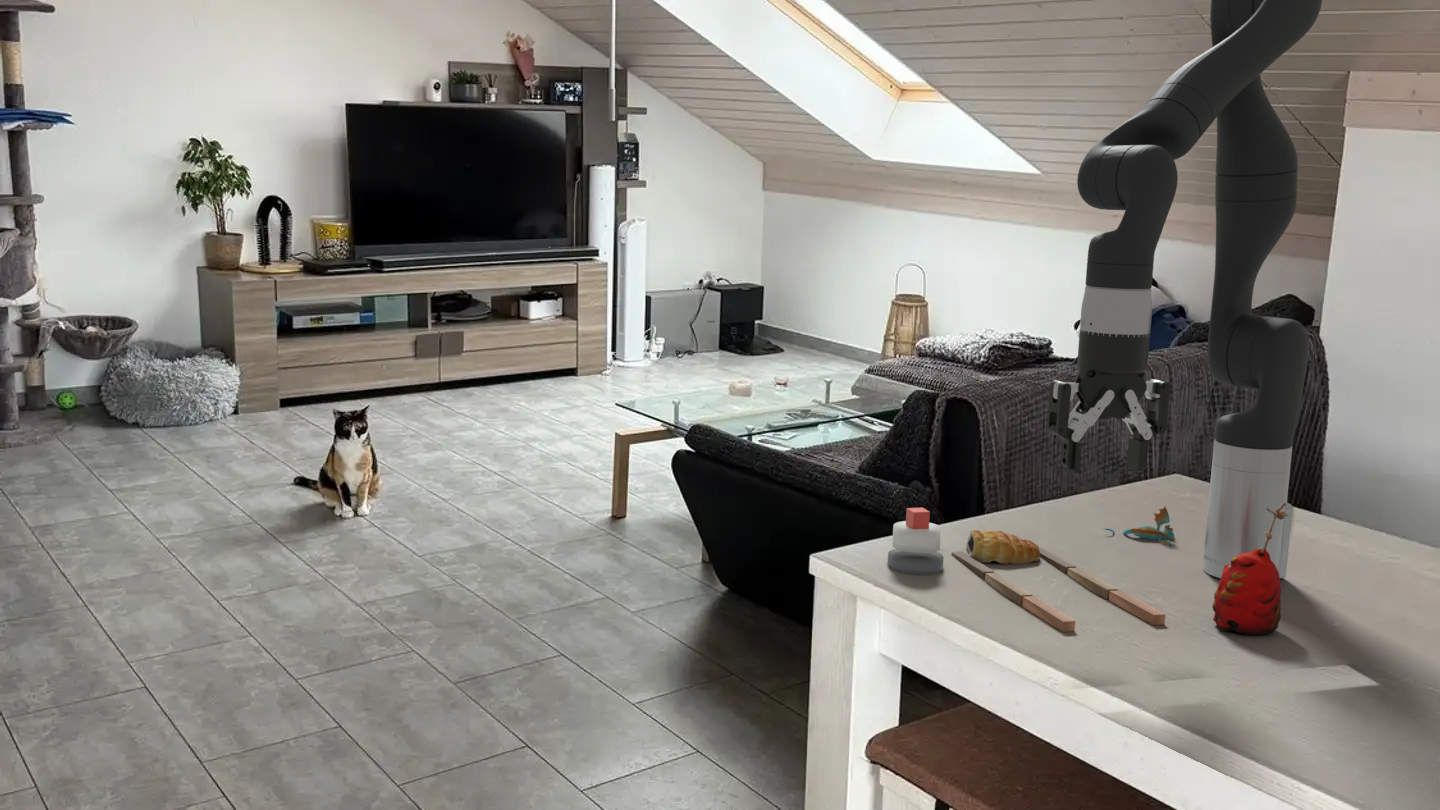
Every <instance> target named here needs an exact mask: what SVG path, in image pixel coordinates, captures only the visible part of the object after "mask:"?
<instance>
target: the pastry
mask: <svg viewBox="0 0 1440 810" xmlns="http://www.w3.org/2000/svg"><path fill="white" fill-rule="evenodd" d="M969 533H970V534H969V536H968V538H967V541H966V549H967V550H968V553H969V554H968V556H970V557H972V558H973V559H975V560H977V561H978V562H980V563H991V562H994V561H995V562H997V563H998V564H1005V565H1007V564H1013V565H1015V564H1016V565H1017V564H1018V565H1019V564H1030V563H1032V562H1038V560H1040V558H1041V557H1040V551H1039V545H1038V544H1036V543H1035V542H1034V541H1032V540H1030V539H1022V538H1020V537H1019V536H1018V535H1014V534H1010V533H1005V532H1004V531H1001V530H995V531H991V530H982V531H980V530H978V529H972V530H970V532H969Z"/></svg>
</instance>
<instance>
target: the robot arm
mask: <svg viewBox="0 0 1440 810" xmlns="http://www.w3.org/2000/svg"><path fill="white" fill-rule="evenodd" d="M1322 4H1323V0H1210V17H1209V18H1210V35H1211V48H1209V49H1208V50H1206V51H1205V52H1203V53H1201V54H1199V55H1198V56H1196V57H1195V58H1194V57H1193V59H1191V60H1190V61H1188V62H1187V63H1185V64H1184V65H1182V66H1181V67H1180V68H1177V70H1176V71H1175V72H1173V73H1172V74H1171V75H1170V76H1169V77H1168V78H1167V79H1166V80H1165V81H1164V82H1163V83H1162V84H1161V86H1159V88H1158V89H1157V91H1155V93H1154V94H1153V95H1152V96H1151V98H1149V100H1148V101H1147V102H1146V103H1145V105H1144V106H1143V107H1142V109H1141V110H1140V111H1139V112H1138V113H1136V115H1134V116H1132V117H1131V118H1129V119H1127V120H1126V121H1125V122H1123V123H1122V124H1120V125H1119V126H1117V127H1116V128H1114V129H1113V130H1112V131H1111V132H1109V133H1108V134H1107V135H1105V136H1104V137H1102V139H1100V140H1098V142H1096V143H1095V144H1094V145H1093V146H1092V148H1090V149H1089V151H1087V153H1086V155H1085V156H1084V158H1083V160H1082V162H1081V164H1080V166H1079V169H1078V171H1077V172H1078V174H1077V181H1076V182H1077V190H1078V193H1079V195H1080V198H1081V199H1082V200H1083V201H1084V202H1085V203H1086V204H1087V205H1088V206H1090V207H1092V208H1093V209H1094V208H1095V209H1097V210H1105V211H1108V210H1109V211H1124V213H1123V215H1122V218H1121V221H1120V223H1119V224H1118V226H1117V228H1116V229H1115V230H1111V231H1107V232H1101V233H1098V234H1096V235H1095V236H1093V237H1092V238H1091V239H1090V240H1089V241H1090V242H1089V244H1088V248H1087V249H1088V251H1087V259H1086V260H1087V262H1086V273H1085V274H1086V275H1085V287H1084V293H1083V299H1082V303H1081V308H1080V309H1081V311H1080V318H1079V323H1080V324H1079V336H1078V347H1077V361H1076V363H1077V364H1076V365H1077V368H1078V375H1077V377H1076V379H1075V381H1074V382H1071V381H1070V382H1068V381H1067V382H1064V381H1062V380H1057V379H1054V380H1052V381H1051V383H1050V384H1049V385H1050V386H1049V387H1050V388H1049V398H1048V408H1047V409H1048V410H1047V421H1046V430H1047V433H1051V434H1053V435H1056V436H1059V437H1060V438H1061V451H1060V452H1061V454H1060V465H1061V467H1062V468H1063V470H1064V471H1065V473H1067V474H1070V475H1079V474H1080V471H1081V459H1082V448H1083V447H1082V445H1083V442H1081V441H1080V440H1081V439H1082V438H1083V436H1084V434H1085V433H1086V432H1087V431H1088V429H1089V428H1091V427H1093V426H1094V425H1095V423H1096V422H1097V420H1109V419H1112V418H1114V419H1118V420H1122V421H1123V422H1124V423H1125V424H1126V426H1127V428H1128V430H1129V432H1130V433H1131V435H1132V437H1131V436H1129V437H1128V446H1127V447H1128V449H1127V459H1126V468H1127V470H1128V471H1129V472H1134V473H1143V471H1144V468H1146V466H1147V464H1148V457H1149V455H1148V454H1149V444H1150V443H1149V442H1150V440H1151V438H1152V437H1154V436H1156V435H1164V434H1165V433H1166V432H1167V430H1168V429H1167V428H1168V419H1169V417H1168V416H1169V415H1168V414H1169V401H1170V389H1171V387H1170V386H1171V385H1170V384H1169V382H1167V381H1163V380H1161V379H1157V378H1156V379H1155V378H1151V379H1149V380H1147V381H1146V379H1145V372H1146V371H1147V369H1148V363H1149V350H1150V339H1151V329H1152V328H1151V327H1152V325H1151V324H1152V318H1153V317H1152V316H1153V315H1152V314H1153V302H1152V301H1153V300H1152V286H1153V275H1154V264H1155V263H1154V261H1155V252H1156V249H1157V247H1158V244H1159V241H1160V238H1161V235H1162V233H1163V230H1164V227H1165V224H1166V221H1167V219H1168V215H1169V213H1170V211H1171V207H1172V205H1173V202H1174V199H1175V196H1176V192H1177V188H1178V182H1179V181H1178V177H1179V176H1178V169H1177V164H1176V162H1175V160H1178V159H1180V158H1182V157H1184V156H1185V155H1187V154H1188V153H1189V152H1190V150H1192V149H1193V147H1194V146H1195V145H1196V144H1197V142H1198V141H1199V140H1200V139H1201V137H1202V136H1203V135H1204V134H1205V133H1206V131H1207V130H1208V129H1209V127H1210V126H1211V125H1212V124H1213V122H1214V121H1215V120H1216V152H1215V153H1216V155H1215V158H1216V159H1215V179H1214V180H1215V184H1214V185H1215V186H1214V187H1215V191H1214V192H1215V193H1214V195H1215V196H1214V198H1215V199H1214V204H1215V257H1214V258H1215V260H1214V263H1215V264H1214V276H1213V277H1214V279H1213V285H1212V286H1213V287H1212V299H1211V306H1210V307H1211V308H1210V315H1209V316H1210V317H1209V327H1208V337H1207V360H1208V361H1207V362H1208V367H1209V370H1210V374H1211V375H1212V378H1214V380H1215V381H1216V382H1218V383H1220V384H1222V385H1225V386H1231V387H1238V388H1244V389H1251V390H1255V391H1258V393H1257V399H1256V402H1255V404H1254V406H1252V407H1251V408H1249V409H1247V410H1244V411H1240V412H1236V413H1229V414H1226V415H1222V416H1220V417H1219V418H1218V419H1217V420H1216V422H1215V427H1214V438H1213V448H1212V449H1213V450H1212V451H1213V452H1212V461H1211V469H1210V470H1211V471H1210V473H1211V474H1210V480H1209V481H1210V485H1209V495H1208V501H1207V502H1208V505H1207V515H1206V525H1205V526H1206V527H1205V537H1204V544H1203V545H1204V549H1203V558H1202V571H1204V573H1206V574H1207V575H1210V576H1213V577H1214V578H1215V577H1216V578H1218V579H1221V576H1222V573H1223V568H1224V566H1225V565H1227V564H1231V559H1232V558H1233V557H1236V556H1238V555H1240V554H1243V553H1250V552H1252V551H1253V550H1254V549H1263V547H1264V544H1265V542H1266V540H1267V536H1266V534H1265V532H1266V531H1269V530H1270V528H1271V525H1272V522H1273V519H1274V514H1273V513H1272V512H1270V511H1268V510H1267V508H1269V509H1270V510H1272V511H1273V512H1274V511H1275V510H1276V509H1279V507H1280V506H1281V505H1282V504H1283V503H1285V504H1286V505H1285V506H1284V507H1283V508H1282V509H1281V510H1280V512H1281V511H1283V512H1284V513H1285V514H1287V515H1288V516H1285V517H1284V519H1278V518H1276V519H1275V522H1274V525H1273V528H1272V531H1271V535H1272V538H1271V539H1270V540H1268V544H1267V548H1266V551H1267V552H1268V553H1269V555H1270V559H1271V561H1272V562H1273V563H1274V564H1275V566H1276V568H1277V570H1278V573H1279V576H1280V579H1283V578H1285V579H1286V577H1287V568H1288V561H1289V560H1288V559H1289V552H1290V551H1289V549H1290V541H1291V531H1292V521H1293V520H1292V519H1293V511H1294V510H1293V509H1294V507H1293V505H1292V504H1291V503H1289V502H1288V494H1289V485H1290V484H1289V483H1290V477H1291V476H1290V475H1291V466H1292V465H1291V464H1292V454H1293V445H1294V437H1295V432H1296V429H1297V426H1298V423H1299V419H1300V412H1301V406H1302V399H1303V392H1304V386H1305V379H1306V374H1307V369H1308V363H1309V362H1308V360H1309V349H1310V348H1309V347H1310V345H1309V337H1308V333H1307V330H1306V329H1305V326H1304V325H1303V324H1302V323H1301V322H1300V321H1298V320H1295V319H1292V318H1286V317H1284V318H1283V317H1276V316H1275V317H1274V316H1265V315H1264V316H1263V315H1254V314H1253V312H1252V309H1253V308H1252V306H1253V304H1252V303H1253V295H1254V288H1255V283H1256V279H1257V277H1258V274H1259V271H1260V270H1261V268H1262V266H1263V265H1264V262H1265V261H1266V260H1267V257H1268V256H1269V254H1270V253H1271V252H1272V250H1273V249H1274V248H1275V246H1277V243H1278V242H1279V241H1280V239H1281V237H1282V236H1283V234H1284V233H1285V231H1286V229H1288V226H1290V224H1291V222H1292V219H1293V217H1294V215H1295V211H1296V207H1297V199H1298V198H1297V197H1298V155H1297V154H1298V153H1297V150H1296V148H1295V145H1294V142H1293V140H1292V138H1291V136H1290V134H1289V132H1288V131H1287V129H1286V127H1285V125H1284V124H1283V122H1282V120H1281V119H1280V117H1279V116H1278V114H1277V112H1276V110H1275V109H1274V107H1273V106H1272V104H1271V102H1270V100H1269V98H1268V96H1267V94H1266V92H1265V89H1264V86H1263V82H1262V79H1261V75H1262V74H1263V72H1264V71H1265V70H1266V69H1267V68H1269V67H1270V66H1271V65H1272V64H1273V63H1275V61H1277V60H1278V59H1280V57H1281V56H1282V55H1284V54H1285V53H1286V52H1287V51H1288V50H1290V49H1291V48H1292V47H1294V45H1296V44H1297V43H1298V42H1299V41H1301V39H1302V38H1304V37H1305V36H1306V34H1308V32H1309V31H1310V30H1311V28H1312V27H1313V25H1314V24H1315V23H1316V21H1317V19H1318V17H1319V14H1320V11H1321V8H1322ZM1075 395H1076V397H1077V399H1078V401H1077V402H1076V404H1075V405H1074V407H1073V408H1072V410H1071V411H1070V408H1071V405H1070V404H1071V401H1073V400H1074V398H1075V397H1074V396H1075ZM1143 396H1145V398H1146V405H1145V412H1144V410H1143V408H1142V407H1141V404H1140V403H1139V402H1140V401H1141V399H1142V398H1143Z"/></svg>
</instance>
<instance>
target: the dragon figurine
mask: <svg viewBox="0 0 1440 810" xmlns="http://www.w3.org/2000/svg"><path fill="white" fill-rule="evenodd" d="M1158 510H1159V512H1158V513H1155V512H1154V511H1153V513H1152V514H1154V517H1155V518H1153V520H1154V521H1155V524H1156V527H1154V526H1151V525H1142V526H1140V527H1132V528H1127V529H1125V530H1124V531H1123V532H1122V534H1123V535H1124V536H1126V535H1128V534H1135V535H1137V536H1139V538H1141V539H1146V540H1157V542H1159V544H1162V545H1163V546H1167V547H1170V546H1171V541H1172V540H1174V539H1175V533H1174V528H1173V527H1171V525H1170V524H1169V523H1170V520H1171V519H1170V514H1169V512H1168V509H1167V507H1166V505H1164V507H1163V508H1159V509H1158ZM1165 524H1166V525H1165ZM1167 524H1168V525H1167ZM1162 525H1164V529H1163V530H1161V526H1162ZM1104 530H1105V531H1109V532H1112V533H1113V534H1115V531H1114V530H1113V529H1111V528H1104Z"/></svg>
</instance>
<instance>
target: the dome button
mask: <svg viewBox="0 0 1440 810" xmlns="http://www.w3.org/2000/svg"><path fill="white" fill-rule="evenodd" d="M930 515H931V511H930V510H927V509H926V508H924V507H908V508H907V507H906V513H905V520H903V521H897V522H895V523H894V524H893V526H892V527H893V528H892V542H891V543H892V546H891V547H893V549H898V550H900V551H904V552H910V553H932V552H938V551H940V549H941V538H942V537H941V536H942V527H941V526H940V525H938V524H936V523H933V522H930V518H931V517H930Z"/></svg>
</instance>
